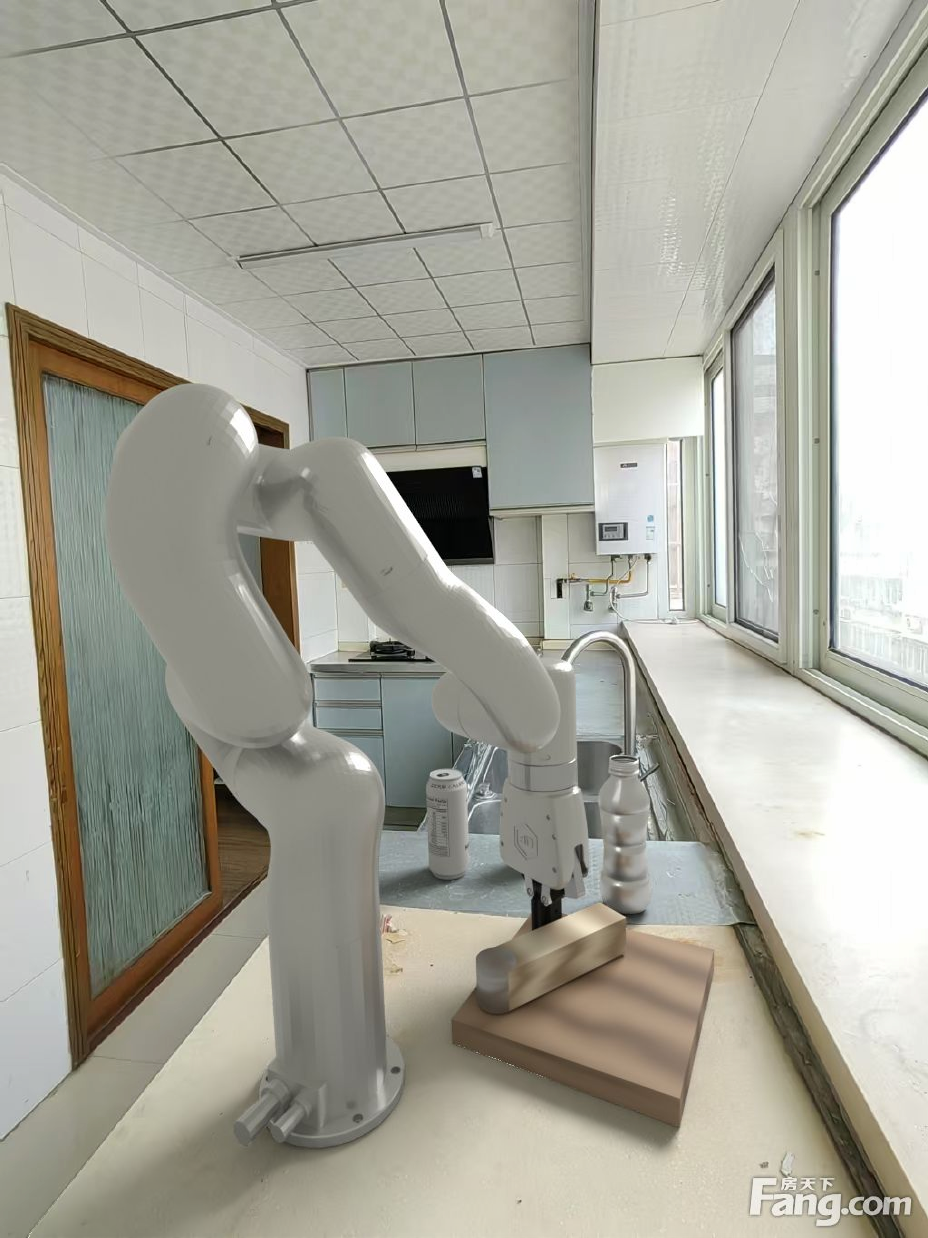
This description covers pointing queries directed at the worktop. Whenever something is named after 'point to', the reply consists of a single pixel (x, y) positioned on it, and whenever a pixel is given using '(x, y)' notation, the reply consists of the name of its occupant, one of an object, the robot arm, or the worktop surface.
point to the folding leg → (548, 957)
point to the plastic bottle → (624, 837)
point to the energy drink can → (447, 824)
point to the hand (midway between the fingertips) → (547, 930)
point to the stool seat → (608, 1026)
